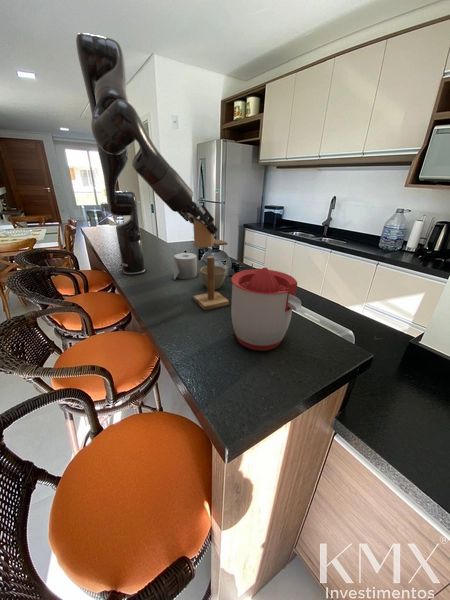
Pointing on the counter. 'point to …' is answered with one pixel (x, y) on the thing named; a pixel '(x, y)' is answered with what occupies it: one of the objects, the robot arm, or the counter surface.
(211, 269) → the paper towel holder
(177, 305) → the counter surface
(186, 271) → the toilet tissue
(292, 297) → the citrus juicer
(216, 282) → the beige bowl
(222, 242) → the cap
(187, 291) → the counter surface
